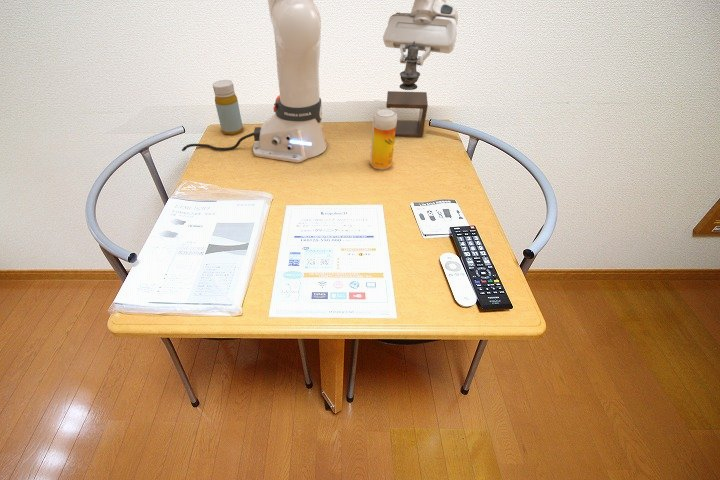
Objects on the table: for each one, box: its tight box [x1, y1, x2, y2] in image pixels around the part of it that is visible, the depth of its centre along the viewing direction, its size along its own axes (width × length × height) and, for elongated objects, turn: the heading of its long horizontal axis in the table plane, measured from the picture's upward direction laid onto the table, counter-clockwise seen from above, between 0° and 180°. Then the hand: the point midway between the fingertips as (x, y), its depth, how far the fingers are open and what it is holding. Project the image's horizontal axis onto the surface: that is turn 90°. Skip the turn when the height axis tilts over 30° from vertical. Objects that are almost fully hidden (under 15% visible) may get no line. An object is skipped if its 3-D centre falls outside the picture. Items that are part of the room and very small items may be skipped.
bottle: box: [212, 79, 244, 136], centre depth 116 cm, size 7×7×15 cm
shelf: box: [385, 90, 429, 138], centre depth 114 cm, size 12×10×10 cm
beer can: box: [369, 107, 398, 171], centre depth 98 cm, size 6×6×15 cm
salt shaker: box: [398, 41, 421, 91], centre depth 104 cm, size 6×6×12 cm
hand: (410, 63), depth 103 cm, fingers closed on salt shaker, 3 cm apart
